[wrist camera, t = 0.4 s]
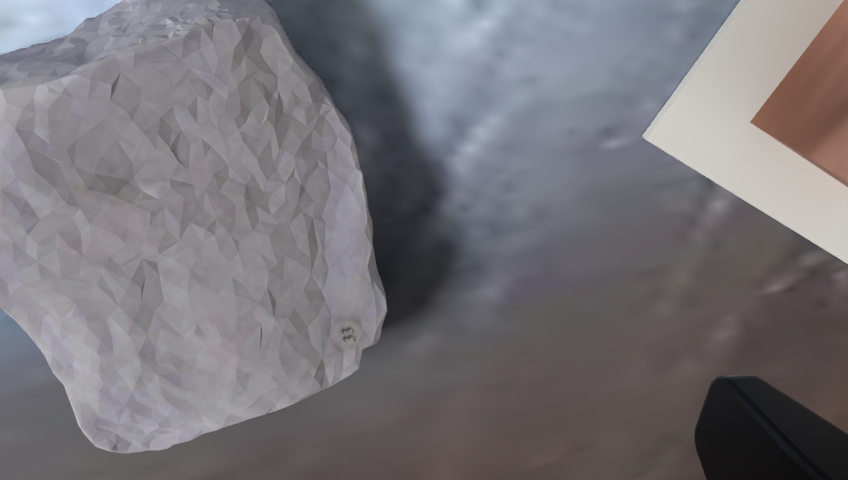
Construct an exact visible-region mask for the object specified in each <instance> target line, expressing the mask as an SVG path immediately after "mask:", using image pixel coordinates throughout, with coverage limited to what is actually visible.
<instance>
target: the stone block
mask: <svg viewBox="0 0 848 480" xmlns="http://www.w3.org/2000/svg"><path fill="white" fill-rule="evenodd" d="M0 308H2V309H3V310H4V311H5V312H6V313H7V314H8V315H10V316H11V317H12V318H13V319H14V320H15V321H16V322H17V323H18V324H19V325H20V326H21V327H22V328H23V329H24V330H25V331H26V332H27V334H28V335H29V336H30V337H31V338H32V340H33V341H34V342H35V343H36V345H37V346H38V347H39V348H40V350H41V351H42V352H43V354H44V356H45V358H46V360H47V362H48V364H49V366H50V367H51V369H52V371H53V373H54V375H55V376H56V377H57V378H58V379H59V380H60V381H61V382H62V384H63V385H64V387H65V390H66V392H67V395H68V398H69V400H70V403H71V406H72V408H73V411H74V414H75V417H76V419H77V422H78V425H79V426H80V428H81V430H82V431H83V433H84V434H85V435H86V436H87V438H88V439H89V440H90V441H91V442H92V443H93V444H94V445H95V446H96V447H98V448H101V449H105V450H108V451H112V452H117V453H134V452H141V451H146V450H162V449H167V448H169V447H171V446H172V445H174V444H177V443H182V442H186V441H190V440H192V439H194V438H196V437H198V436H200V435H202V434H204V433H208V432H212V431H215V430H218V429H221V428H224V427H227V426H230V425H233V424H236V423H240V422H242V421H245V420H248V419H251V418H254V417H258V416H261V415H265V414H267V413H270V412H274V411H277V410H280V409H282V408H285V407H287V406H290V405H292V404H294V403H297V402H299V401H301V400H303V399H305V398H307V397H309V396H311V395H313V394H314V393H316V392H319V391H321V390H324V389H326V388H329V387H331V386H332V385H334V384H336V383H337V382H339V381H340V380H342V379H344V378H346V377H348V376H349V375H351V374H352V373H353V372H355V371H356V370H357V369H358V368H359V364H360V358H361V355H362V352H363V350H364V348H367V347H369V346H372V345H374V344H376V343H377V342H378V340H379V338H380V335H381V328H382V325H383V322H384V319H385V316H386V313H387V304H386V295H385V291H384V288H383V285H382V281H381V278H380V276H379V273H378V270H377V266H376V260H375V254H374V248H373V222H372V219H371V216H370V213H369V209H368V201H367V192H366V188H365V184H364V177H363V174H362V171H361V169H360V164H359V159H358V154H357V150H356V146H355V142H354V138H353V135H352V132H351V129H350V126H349V124H348V122H347V121H346V119H345V118H344V116H343V115H342V114H341V113H340V111H339V110H338V109H337V108H336V106H335V105H334V102H333V99H332V97H331V96H330V94H329V92H328V91H327V89H326V88H325V86H324V84H323V82H322V80H321V79H320V78H319V77H318V75H317V74H316V73H315V72H314V71H313V70H312V69H311V68H310V67H309V66H308V64H307V63H306V62H305V61H304V60H303V59H302V57H301V56H300V55H299V54H298V53H297V52H296V51H295V49H294V47H293V45H292V43H291V42H290V40H289V38H288V37H287V35H286V33H285V31H284V29H283V27H282V25H281V22H280V21H279V19H278V17H277V15H276V12H275V10H274V9H273V8H272V7H271V6H270V5H269V4H268V3H267V2H266V1H265V0H123V1H121V2H120V3H118V4H116V5H114V6H113V7H111V8H110V9H108V10H107V11H105V12H104V13H102V14H100V15H98V16H97V17H95V18H87V19H85V20H84V21H83V22H82V23H81V24H80V25H79V26H78V27H77V28H76V29H75V30H74V31H73V32H72V33H71V34H70V35H68V36H65V37H62V38H58V39H55V40H53V41H51V42H49V43H45V44H37V45H32V46H30V47H28V48H22V49H19V50H16V51H13V52H10V53H7V54H4V55H0Z"/></svg>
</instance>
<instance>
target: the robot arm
mask: <svg viewBox="0 0 848 480" xmlns="http://www.w3.org/2000/svg"><path fill="white" fill-rule="evenodd" d="M695 445H696V450H697V453H698V456H699V459H700V462H701V465H702V468H703V471H704V474H705V476H706V479H707V480H848V434H847V433H846V432H844V431H843V430H841V429H839V428H838V427H836V426H835V425H833V424H832V423H830V422H828V421H827V420H825V419H824V418H822V417H820V416H819V415H817V414H816V413H814V412H813V411H811V410H809V409H808V408H806V407H805V406H803V405H802V404H800V403H798V402H797V401H795V400H794V399H792V398H791V397H789V396H787V395H786V394H784V393H783V392H781V391H780V390H778V389H776V388H775V387H773V386H772V385H770V384H769V383H767V382H765V381H764V380H762V379H761V378H759V377H757V376H755V375H751V374H739V375H723V376H719V377H717V378H716V379H715V380H714V381H713V382H712V383H711V385H710V388H709V391H708V393H707V396H706V399H705V402H704V405H703V408H702V410H701V413H700V416H699V419H698V422H697V425H696V428H695Z"/></svg>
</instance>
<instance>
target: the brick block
mask: <svg viewBox="0 0 848 480" xmlns="http://www.w3.org/2000/svg"><path fill="white" fill-rule="evenodd" d="M750 123H752V124H753V125H755V126H756V127H758V128H759V129H761V130H762V131H764V132H765V133H767V134H768V135H770V136H771V137H773V138H774V139H776V140H777V141H779V142H780V143H782V144H783V145H785V146H786V147H788V148H789V149H791V150H792V151H794V152H795V153H797V154H798V155H800V156H801V157H803V158H804V159H806V160H807V161H809V162H810V163H812V164H813V165H815V166H816V167H818V168H819V169H821V170H822V171H824V172H825V173H827V174H828V175H830V176H831V177H833V178H834V179H836V180H837V181H839V182H840V183H842V184H843V185H845V186H846V187H848V0H844V1H843V2H842V3H841V4H840V6H839V7H838V8H837V10H836V11H835V12H834V14H833V15H832V16H831V17H830V19H829V20H828V21H827V23H826V24H825V25H824V27H823V28H822V29H821V30H820V32H819V33H818V34H817V36H816V37H815V38H814V39H813V41H812V42H811V43H810V45H809V46H808V47H807V49H806V50H805V51H804V52H803V54H802V55H801V56H800V58H799V59H798V60H797V62H796V63H795V64H794V65H793V67H792V68H791V69H790V71H789V72H788V73H787V75H786V76H785V77H784V78H783V80H782V81H781V82H780V84H779V85H778V86H777V87H776V89H775V90H774V91H773V93H772V94H771V95H770V97H769V98H768V99H767V100H766V102H765V103H764V104H763V106H762V107H761V108H760V110H759V111H758V112H757V113H756V115H755V116H754V117H753V119H752V120H751V121H750Z"/></svg>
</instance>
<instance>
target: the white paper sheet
mask: <svg viewBox="0 0 848 480" xmlns="http://www.w3.org/2000/svg"><path fill="white" fill-rule="evenodd" d="M843 1H844V0H740V2H739V3H738V4H737V6H736V7H735V9H734V10H733V11H732V13H731V14H730V15H729V17H728V18H727V20H726V21H725V22H724V24H723V25H722V26H721V28H720V29H719V31H718V32H717V33H716V35H715V36H714V38H713V39H712V40H711V42H710V43H709V44H708V46H707V47H706V49H705V50H704V51H703V53H702V54H701V55H700V57H699V58H698V60H697V61H696V62H695V64H694V65H693V67H692V68H691V69H690V71H689V72H688V73H687V75H686V76H685V78H684V79H683V80H682V82H681V83H680V84H679V86H678V87H677V89H676V90H675V91H674V93H673V94H672V96H671V97H670V98H669V100H668V101H667V102H666V104H665V105H664V107H663V108H662V109H661V111H660V112H659V114H658V115H657V116H656V118H655V119H654V120H653V122H652V123H651V125H650V126H649V127H648V129H647V130H646V131H645V133H644V134H643V136H642V137H643V138H644V139H646V140H647V141H649V142H650V143H652V144H654V145H655V146H657V147H659V148H660V149H662V150H663V151H665V152H667V153H668V154H670V155H672V156H673V157H675V158H676V159H678V160H680V161H681V162H683V163H685V164H686V165H688V166H689V167H691V168H693V169H694V170H696V171H698V172H699V173H701V174H702V175H704V176H706V177H707V178H709V179H711V180H712V181H714V182H715V183H717V184H719V185H720V186H722V187H724V188H725V189H727V190H728V191H730V192H732V193H733V194H735V195H737V196H738V197H740V198H741V199H743V200H745V201H746V202H748V203H750V204H751V205H753V206H754V207H756V208H758V209H759V210H761V211H763V212H764V213H766V214H767V215H769V216H771V217H772V218H774V219H776V220H777V221H779V222H780V223H782V224H784V225H785V226H787V227H789V228H790V229H792V230H793V231H795V232H797V233H798V234H800V235H802V236H803V237H805V238H806V239H808V240H810V241H811V242H813V243H815V244H816V245H818V246H819V247H821V248H823V249H824V250H826V251H828V252H829V253H831V254H832V255H834V256H836V257H837V258H839V259H841V260H842V261H844V262H845V263H847V264H848V187H846V186H845V185H843V184H842V183H840V182H839V181H837V180H836V179H834V178H833V177H831V176H830V175H828V174H827V173H825V172H824V171H822V170H821V169H819V168H818V167H816V166H815V165H813V164H812V163H810V162H809V161H807V160H806V159H804V158H803V157H801V156H800V155H798V154H797V153H795V152H794V151H792V150H791V149H789V148H788V147H786V146H785V145H783V144H782V143H780V142H779V141H777V140H776V139H774V138H773V137H771V136H770V135H768V134H767V133H765V132H764V131H762V130H761V129H759V128H758V127H756V126H755V125H753V124H752V123H750V121H751V120H752V119H753V117H754V116H755V115H756V113H757V112H758V111H759V110H760V108H761V107H762V106H763V104H764V103H765V102H766V100H767V99H768V98H769V97H770V95H771V94H772V93H773V91H774V90H775V89H776V87H777V86H778V85H779V84H780V82H781V81H782V80H783V78H784V77H785V76H786V75H787V73H788V72H789V71H790V69H791V68H792V67H793V65H794V64H795V63H796V62H797V60H798V59H799V58H800V56H801V55H802V54H803V52H804V51H805V50H806V49H807V47H808V46H809V45H810V43H811V42H812V41H813V39H814V38H815V37H816V36H817V34H818V33H819V32H820V30H821V29H822V28H823V27H824V25H825V24H826V23H827V21H828V20H829V19H830V17H831V16H832V15H833V14H834V12H835V11H836V10H837V8H838V7H839V6H840V4H841V3H842V2H843Z"/></svg>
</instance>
